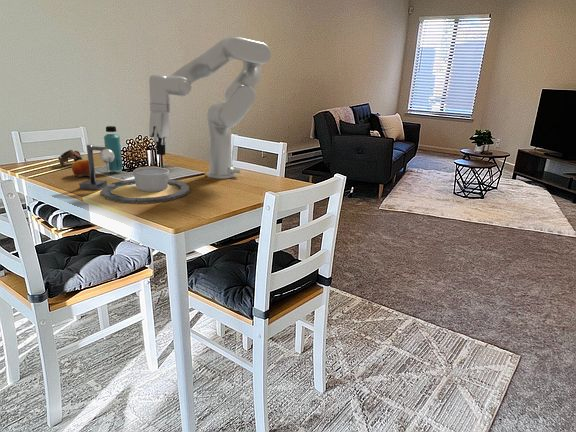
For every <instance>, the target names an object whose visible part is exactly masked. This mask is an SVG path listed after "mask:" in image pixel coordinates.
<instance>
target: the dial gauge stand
mask: <svg viewBox="0 0 576 432" xmlns="http://www.w3.org/2000/svg"><path fill="white" fill-rule="evenodd" d="M86 151H87V152H86V153H87V159H88V162H89V171H90V176H89V178H88V179H86V180H84V181H82V182H80V183H79V184H78V186H79V189H81V190H91V191H99V190H102V189H103V187H105V186H107V185H108V180H107V179H106V180H103V179H96V171H95V160H94V151H100V152H99V154H98V155H99V159H100V160H101V162H103V163H105V164H107V167H106V169H107V173H110V171H109V162H112V161H113V160H114V158H115V155H114V153H113V151H112V150H110V149H107V147H105V146H96V145H94V146H93V145H92V144H87V145H86Z"/></svg>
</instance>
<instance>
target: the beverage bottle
mask: <svg viewBox="0 0 576 432" xmlns="http://www.w3.org/2000/svg"><path fill="white" fill-rule="evenodd" d="M105 132H107V133H106V134H105V135H104V137H103V139H104V147H107V149H110V150H112V151H113V153H114V155H115V158H114V160H113V161H112V162H109V172H110V171H111V172H117V171H119V172H120V171H122V170H123V157H122V149H121V148H122V147H121V139H120V138H121V137H120V136H119V135H118V134H116V133H115V132H117V128H116V126H115V125H110V126H109V125H107V126H105ZM105 164H106V168H107V163H105Z"/></svg>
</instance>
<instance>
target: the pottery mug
mask: <svg viewBox="0 0 576 432" xmlns="http://www.w3.org/2000/svg"><path fill="white" fill-rule="evenodd" d="M57 159H58V161H59V164H60V165H61V166H64V164H65V163H67V164H68V163H70V162H69V159H70V160H74V162H76V161H78V160H83V158H82V156H81V153H80V152H79V151H78V150H73V149H70V150H67V151H65V152H63V153H62V154H61V155H59V157H58V158H57Z"/></svg>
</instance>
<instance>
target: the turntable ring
mask: <svg viewBox="0 0 576 432" xmlns="http://www.w3.org/2000/svg"><path fill="white" fill-rule="evenodd" d="M131 183H135V178H133V179H125V180H120V181H116V182H111V183H109V184H108V183H107V186H105V187H103V188H101V191H100V195H102V196H103V198H105V199H107V200H110V201H113V202H118V203H126V204H127V203H128V204H153V203H161V202H162V203H163V202H167V201H168V202H169V201H173V200H176V199H180V198H182V197H185V196H186V195H188V193H190V186H189V185H188V184H187V183H185V182H183V181H180V180H176V179H170V178H168V185H172V186H176V187H177V188H179V190H178V191H176V192H174V193H170V194H167V195H161V196H155V197H154V196H153V197H131V196H130V197H129V196H123V195H119V194H115V193H113V192H112V191H113V190H115V189H117V188H119V187H123V186H127V184H128V185H132V184H131Z"/></svg>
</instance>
